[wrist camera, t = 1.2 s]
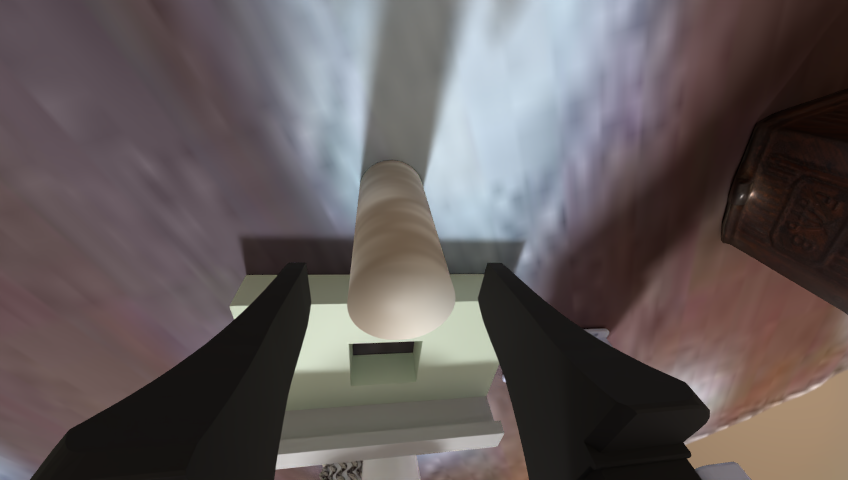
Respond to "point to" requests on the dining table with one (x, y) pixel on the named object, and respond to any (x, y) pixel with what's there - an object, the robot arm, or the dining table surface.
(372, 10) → the dining table surface
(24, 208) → the dining table surface
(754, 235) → the pepper mill
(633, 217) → the dining table surface
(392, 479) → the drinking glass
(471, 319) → the socket board
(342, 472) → the decorative candle
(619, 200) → the dining table surface
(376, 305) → the peg
